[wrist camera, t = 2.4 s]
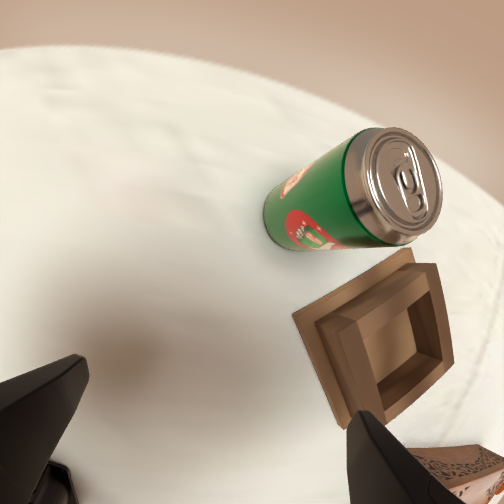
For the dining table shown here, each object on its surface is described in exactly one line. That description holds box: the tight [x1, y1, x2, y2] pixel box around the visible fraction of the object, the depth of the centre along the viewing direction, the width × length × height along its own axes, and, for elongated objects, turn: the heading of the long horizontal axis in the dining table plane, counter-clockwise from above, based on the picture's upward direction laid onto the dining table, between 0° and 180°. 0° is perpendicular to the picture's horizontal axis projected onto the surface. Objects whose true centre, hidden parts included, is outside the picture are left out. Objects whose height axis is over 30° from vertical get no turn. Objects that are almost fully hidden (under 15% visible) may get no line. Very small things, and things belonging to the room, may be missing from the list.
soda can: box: [264, 127, 443, 251], centre depth 16 cm, size 5×5×12 cm
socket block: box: [292, 247, 454, 430], centre depth 21 cm, size 12×12×4 cm
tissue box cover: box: [406, 444, 504, 504], centre depth 22 cm, size 26×14×10 cm, turn 65°
